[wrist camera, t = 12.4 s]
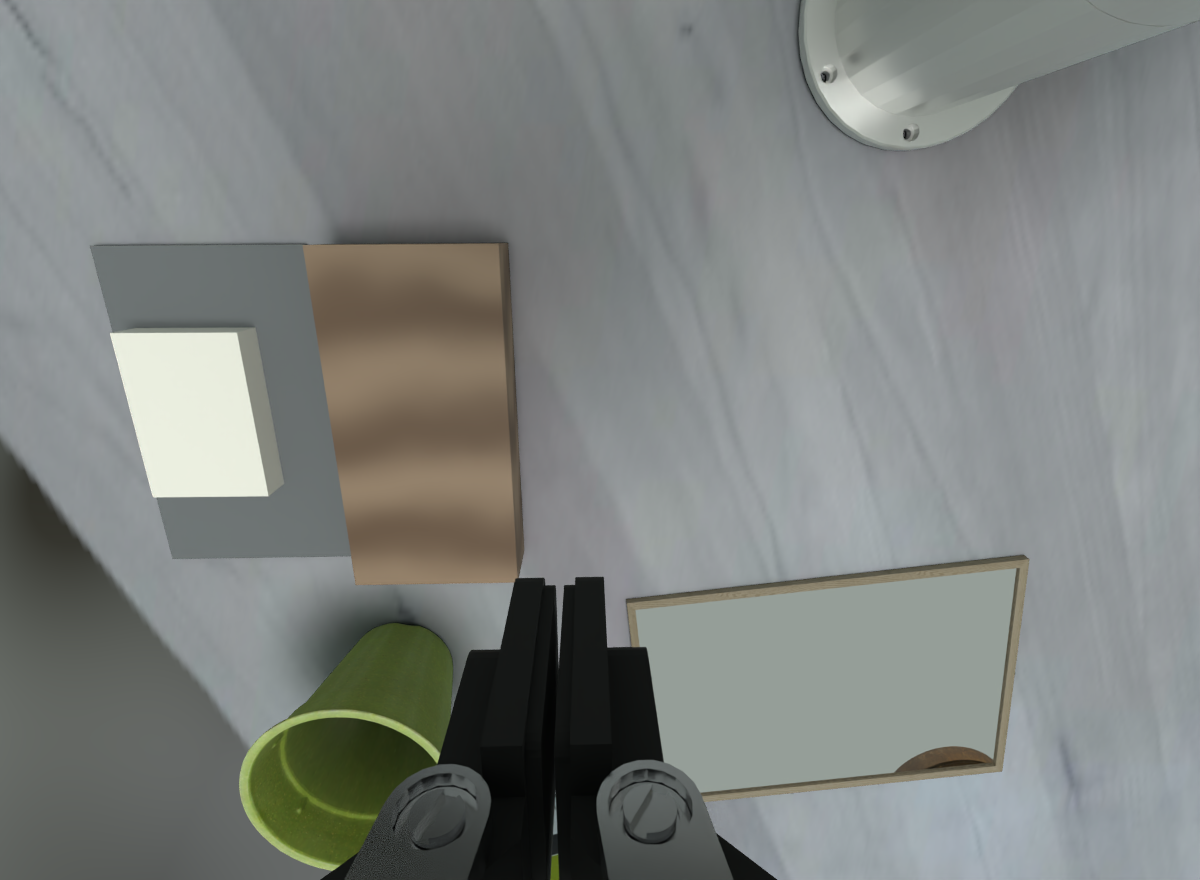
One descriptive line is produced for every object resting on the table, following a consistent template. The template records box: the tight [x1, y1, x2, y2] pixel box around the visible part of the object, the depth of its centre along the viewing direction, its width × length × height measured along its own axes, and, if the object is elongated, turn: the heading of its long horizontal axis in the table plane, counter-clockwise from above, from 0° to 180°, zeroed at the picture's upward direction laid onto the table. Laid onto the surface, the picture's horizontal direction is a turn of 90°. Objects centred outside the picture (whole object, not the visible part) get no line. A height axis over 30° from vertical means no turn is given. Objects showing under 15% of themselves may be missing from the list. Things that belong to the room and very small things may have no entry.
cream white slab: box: [110, 327, 284, 497], centre depth 36 cm, size 10×7×2 cm
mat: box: [90, 244, 351, 559], centre depth 37 cm, size 20×12×1 cm, turn 0°
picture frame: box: [626, 555, 1029, 802], centre depth 45 cm, size 19×1×28 cm
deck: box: [303, 243, 524, 585], centre depth 36 cm, size 20×10×4 cm, turn 0°
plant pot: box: [239, 623, 453, 871], centre depth 39 cm, size 12×12×11 cm
